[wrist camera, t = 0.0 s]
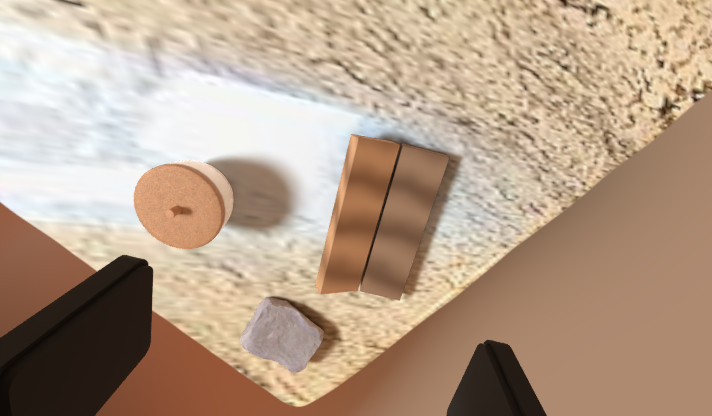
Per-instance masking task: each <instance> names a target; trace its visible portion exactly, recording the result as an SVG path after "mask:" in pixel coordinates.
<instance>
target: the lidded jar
mask: <svg viewBox="0 0 712 416" xmlns="http://www.w3.org/2000/svg"><path fill="white" fill-rule="evenodd" d="M233 204H234V198H233V191H232V188H231V186H230V184H229V182H228V180H227V179H226V178H225V176H224V175H223V174H222V173H221V172H220V171H218V170H217V169H216V168H214V167H213V166H211V165H208V164H206V163H203V162H199V161H193V160H184V161H177V162H172V163H168V164H165V165H160V166H158V167H155V168H152V169H151V170H149V171H147V172H146V173H145V174H144V175H143V176H142V177H141V178H140V180H139V181H138V183H137V185H136V188H135V192H134V207H135V210H136V213H137V216H138V218H139V220H140V222H141V223H142V225H143V226H144V227H145V229H146V230H147V231H148V232H149V233H150V234H151V235H152V236H153V237H155V238H156V239H157V240H159V241H161V242H163V243H164V244H167V245H169V246H172V247H176V248H182V249H193V248H198V247H201V246H204V245H205V244H207V243H209V242H210V241H211V240H213V239H214V238H215V237H216V236H217V234H218V233H219V232H220V230H221V229H222V228H223V227H224V226H225V224H226V223H227V221H228V219H229V218H230V215H231V213H232V210H233Z"/></svg>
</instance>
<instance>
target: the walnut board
mask: <svg viewBox="0 0 712 416" xmlns="http://www.w3.org/2000/svg"><path fill="white" fill-rule="evenodd" d="M448 160H449V157H448V156H447V155H446V154H442V153H438V152H434V151H430V150H426V149H422V148H418V147H414V146H411V145H407V144H403V143H402V145H401V148H400V151H399V155H398V158H397V162H396V165H395V168H394V172H393V175H392V179H391V182H390V186H389V189H388V192H387V196H386V199H385V203H384V206H383V209H382V213H381V216H380V220H379V223H378V226H377V230H376V233H375V237H374V240H373V243H372V247H371V250H370V254H369V257H368V261H367V264H366V267H365V271H364V274H363V278H362V281H361V287H360V291H362V292H366V293H370V294H374V295H379V296H383V297H387V298H391V299H395V300H400V298H401V295H402V292H403V289H404V287H405V284H406V281H407V278H408V275H409V272H410V269H411V266H412V264H413V261H414V258H415V255H416V252H417V249H418V246H419V243H420V241H421V238H422V235H423V232H424V229H425V226H426V223H427V221H428V218H429V215H430V212H431V209H432V206H433V203H434V200H435V198H436V195H437V192H438V189H439V186H440V183H441V180H442V178H443V175H444V172H445V169H446V166H447V163H448Z"/></svg>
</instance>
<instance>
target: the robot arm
mask: <svg viewBox="0 0 712 416" xmlns="http://www.w3.org/2000/svg"><path fill="white" fill-rule="evenodd" d="M152 291H153V268H152V267H151V266H148V262H147V261H146V260H145V259H140V258H136V257H132V256H128V255H122V256H120V257H118V258H117V259H115V260H114V261H112V262H111V263H109V264H108V265H106V266H105V267H104V268H102V269H101V270H99V271H98V272H96V273H95V274H93V275H92V276H90V277H89V278H87V279H86V280H85V281H83V282H82V283H80V284H79V285H77V286H76V287H74V288H73V289H71V290H70V291H68V292H67V293H65V294H64V295H63V296H61V297H60V298H58V299H57V300H55V301H54V302H52V303H51V304H49V305H48V306H46V307H45V308H44V309H42V310H41V311H39V312H38V313H36V314H35V315H33V316H32V317H30V318H29V319H27V320H26V321H24V322H23V323H22V324H20V325H19V326H17V327H16V328H14V329H13V330H11V331H10V332H8V333H7V334H6V335H4V336H3V337H1V338H0V416H95V415H96V413H97V412H98V411H99V410H100V409H101V407H102V406H103V405H104V404H105V403H106V401H107V400H108V399H109V398H110V397H111V395H112V394H113V393H114V392H115V391H116V390H117V388H118V387H119V386H120V385H121V383H122V382H123V381H124V380H125V379H126V378H127V376H128V375H129V374H130V373H131V372H132V370H133V369H134V368H135V367H136V366H137V364H138V363H139V362H140V361H141V360H142V358H143V357H144V356H145V355H146V353H147V351H148V349H149V347H150V343H151V320H152ZM447 416H547V415H546V413H545V412H544V410H543V408H542V406H541V404H540V402H539V400H538V398H537V396H536V394H535V393H534V391H533V389H532V387H531V385H530V383H529V381H528V379H527V377H526V375H525V373H524V371H523V370H522V368H521V366H520V364H519V362H518V360H517V358H516V356H515V354H514V352H513V350H512V349H511V347H510V346H509V345H508V344H505V343H500V342H496V341H491V340H486V341H485V342H484V344H479V345H478V346H477V348H476V350H475V352H474V354H473V356H472V359H471V361H470V363H469V365H468V367H467V369H466V371H465V374H464V375H463V377H462V380H461V382H460V384H459V386H458V388H457V390H456V392H455V394H454V397H453V399H452V401H451V403H450V405H449V407H448V410H447Z"/></svg>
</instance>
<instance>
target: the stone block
mask: <svg viewBox="0 0 712 416" xmlns="http://www.w3.org/2000/svg"><path fill="white" fill-rule="evenodd" d="M323 336H324V331H323V330H322V329H321V328H320V327H318V326H316V325H315V324H314V323H313V322H312V321H310V320H309V319H308V318H307V317H306V316H304V314H303V313H302V312H300V311H299V310H298V309H297V308H295V307H294V306H292V305H291V304H290V303H289V302H288V301H286V300H281V299H277V298H272V297H266V298H265V299H264V300H263V301H262V302H261V303H260V304H259V305H258V306H257V309H256V312H255V313H254V317H253V318H252V319H251V321H250V322H249V324H248V325H247V327H246V329H245V330H244V331H243V333H242V335H241V337H240V340H241V343H242V347H243V348H244V349H245V350H247V351H248V352H249V353H251V354H253V355H255V356H258V357H260V358H263V359H268V360H273V361H276V362H278V363H279V364H281V365H284V366H285V367H286V368H287V369H288V370H289V371H290V372H293V373H296V372H300V371H302V370H303V369H305V368H306V365H307V363H308V362H309V360H310V359H311V357H312V356H313V355H314V354H315V352H316V350H317V349H318V348H319V346H320V345H321V343H322V340H323Z"/></svg>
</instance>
